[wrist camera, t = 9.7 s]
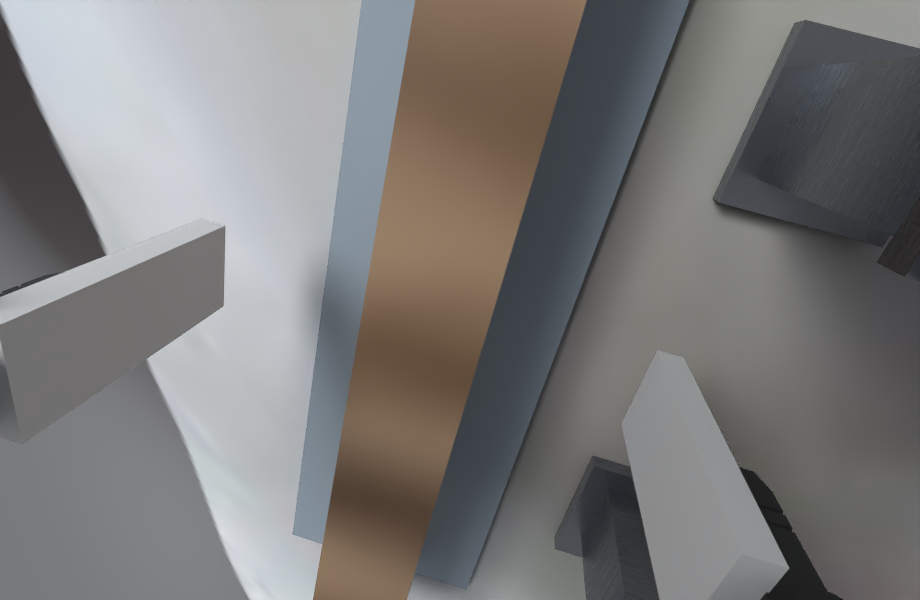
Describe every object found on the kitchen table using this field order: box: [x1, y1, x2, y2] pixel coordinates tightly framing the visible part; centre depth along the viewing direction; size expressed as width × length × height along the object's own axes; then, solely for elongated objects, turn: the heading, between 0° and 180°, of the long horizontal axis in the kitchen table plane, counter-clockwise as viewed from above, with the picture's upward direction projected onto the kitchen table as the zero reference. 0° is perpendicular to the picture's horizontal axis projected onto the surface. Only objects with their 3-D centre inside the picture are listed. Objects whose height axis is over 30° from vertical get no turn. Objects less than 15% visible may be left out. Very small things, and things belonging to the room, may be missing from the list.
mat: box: [293, 0, 689, 590], centre depth 18 cm, size 30×9×1 cm, turn 167°
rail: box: [313, 0, 587, 600], centre depth 16 cm, size 28×4×5 cm, turn 167°
